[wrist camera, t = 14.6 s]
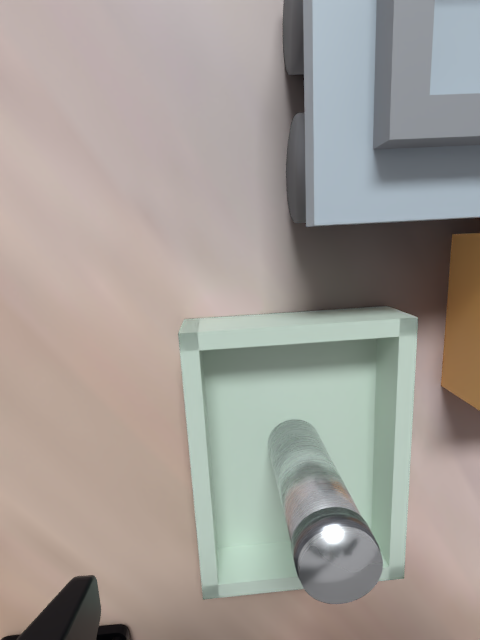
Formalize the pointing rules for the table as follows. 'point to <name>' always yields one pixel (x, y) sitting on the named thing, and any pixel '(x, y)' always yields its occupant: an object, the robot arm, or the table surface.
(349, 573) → the pin
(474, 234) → the orange rectangular block
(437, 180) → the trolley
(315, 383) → the tray
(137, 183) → the table surface
